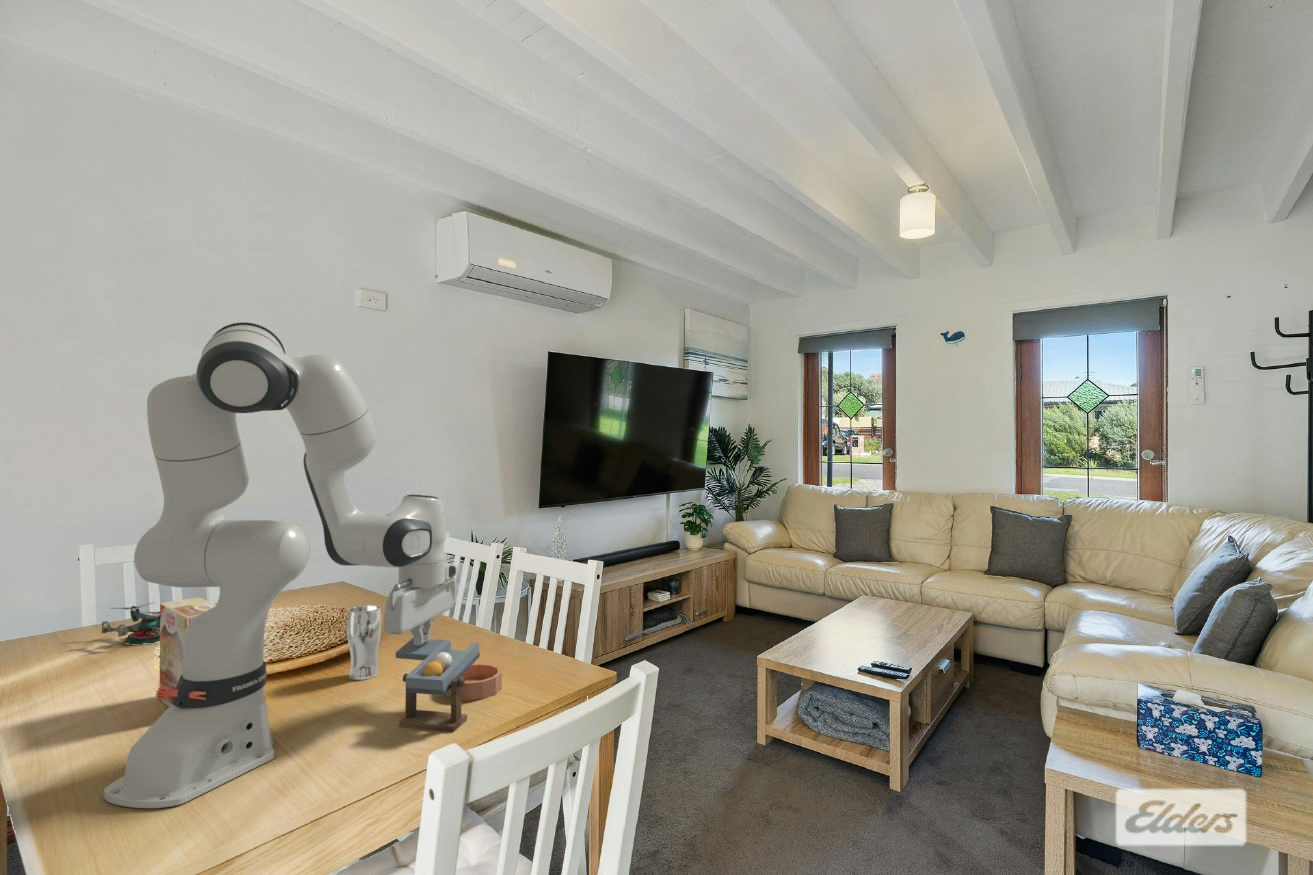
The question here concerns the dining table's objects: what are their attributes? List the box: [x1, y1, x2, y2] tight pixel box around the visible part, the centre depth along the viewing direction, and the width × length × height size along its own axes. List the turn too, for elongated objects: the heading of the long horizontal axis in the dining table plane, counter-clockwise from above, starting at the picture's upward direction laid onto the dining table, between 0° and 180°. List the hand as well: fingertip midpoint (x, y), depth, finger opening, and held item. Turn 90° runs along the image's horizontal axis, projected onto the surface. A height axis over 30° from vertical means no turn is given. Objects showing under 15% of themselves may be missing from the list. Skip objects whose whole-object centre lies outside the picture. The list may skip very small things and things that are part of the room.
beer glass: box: [346, 604, 382, 681], centre depth 138 cm, size 7×7×15 cm
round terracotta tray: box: [446, 662, 503, 702], centre depth 130 cm, size 11×11×4 cm
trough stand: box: [398, 673, 468, 733], centre depth 115 cm, size 5×12×9 cm, turn 79°
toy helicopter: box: [101, 601, 160, 644], centre depth 161 cm, size 20×15×8 cm
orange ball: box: [423, 661, 443, 676], centre depth 114 cm, size 4×4×4 cm
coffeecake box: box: [158, 596, 217, 708], centre depth 123 cm, size 15×7×20 cm, turn 53°
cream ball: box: [433, 652, 452, 671], centre depth 118 cm, size 4×4×4 cm
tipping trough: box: [395, 637, 481, 696], centre depth 119 cm, size 14×15×3 cm
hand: (421, 643), depth 124 cm, fingers closed
